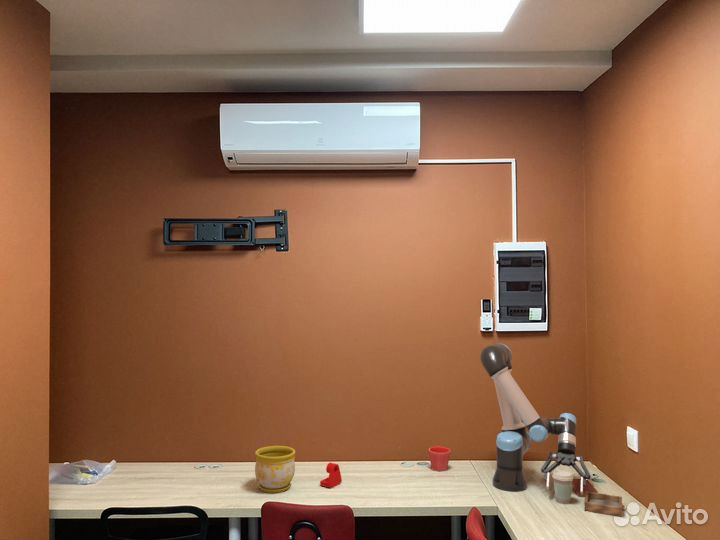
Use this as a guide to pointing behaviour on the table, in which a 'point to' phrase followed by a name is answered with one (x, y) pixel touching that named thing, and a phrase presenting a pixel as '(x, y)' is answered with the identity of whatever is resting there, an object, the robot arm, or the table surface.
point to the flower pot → (439, 458)
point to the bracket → (332, 476)
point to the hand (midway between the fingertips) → (564, 490)
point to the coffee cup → (562, 486)
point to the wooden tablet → (577, 487)
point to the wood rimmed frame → (603, 504)
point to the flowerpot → (274, 468)
